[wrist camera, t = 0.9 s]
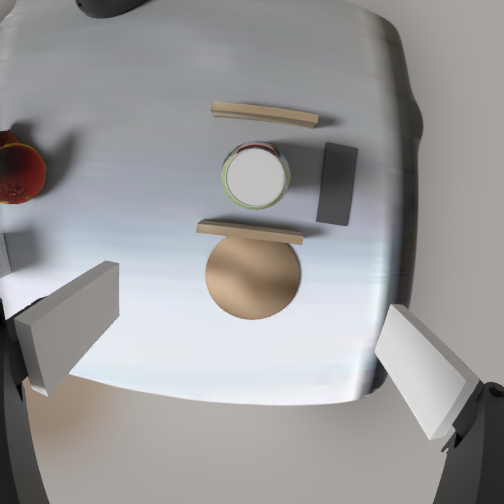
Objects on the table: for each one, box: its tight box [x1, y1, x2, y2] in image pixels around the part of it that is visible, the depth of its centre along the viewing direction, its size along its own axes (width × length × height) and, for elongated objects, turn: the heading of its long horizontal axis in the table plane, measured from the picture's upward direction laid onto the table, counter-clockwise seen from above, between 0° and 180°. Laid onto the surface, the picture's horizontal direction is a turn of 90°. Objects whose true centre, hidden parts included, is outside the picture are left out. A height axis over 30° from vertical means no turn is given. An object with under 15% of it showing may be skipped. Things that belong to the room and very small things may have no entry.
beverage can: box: [221, 141, 291, 210], centre depth 29 cm, size 6×7×12 cm
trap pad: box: [316, 143, 357, 226], centre depth 35 cm, size 10×4×1 cm, turn 173°
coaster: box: [205, 236, 299, 320], centre depth 37 cm, size 12×12×1 cm
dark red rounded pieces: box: [0, 130, 46, 204], centre depth 31 cm, size 12×12×15 cm
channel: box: [196, 102, 319, 245], centre depth 33 cm, size 15×12×4 cm
